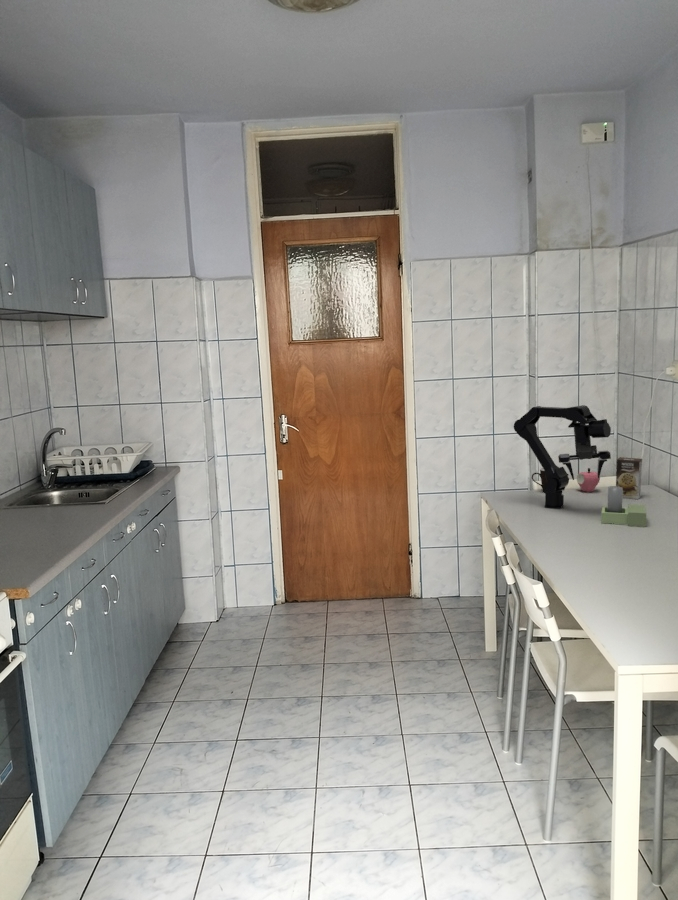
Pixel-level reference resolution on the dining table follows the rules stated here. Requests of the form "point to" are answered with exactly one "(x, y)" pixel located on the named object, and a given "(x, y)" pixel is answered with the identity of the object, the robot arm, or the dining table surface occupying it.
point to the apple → (588, 480)
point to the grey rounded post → (615, 499)
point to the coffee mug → (542, 475)
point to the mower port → (626, 516)
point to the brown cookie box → (629, 477)
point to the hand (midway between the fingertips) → (585, 478)
